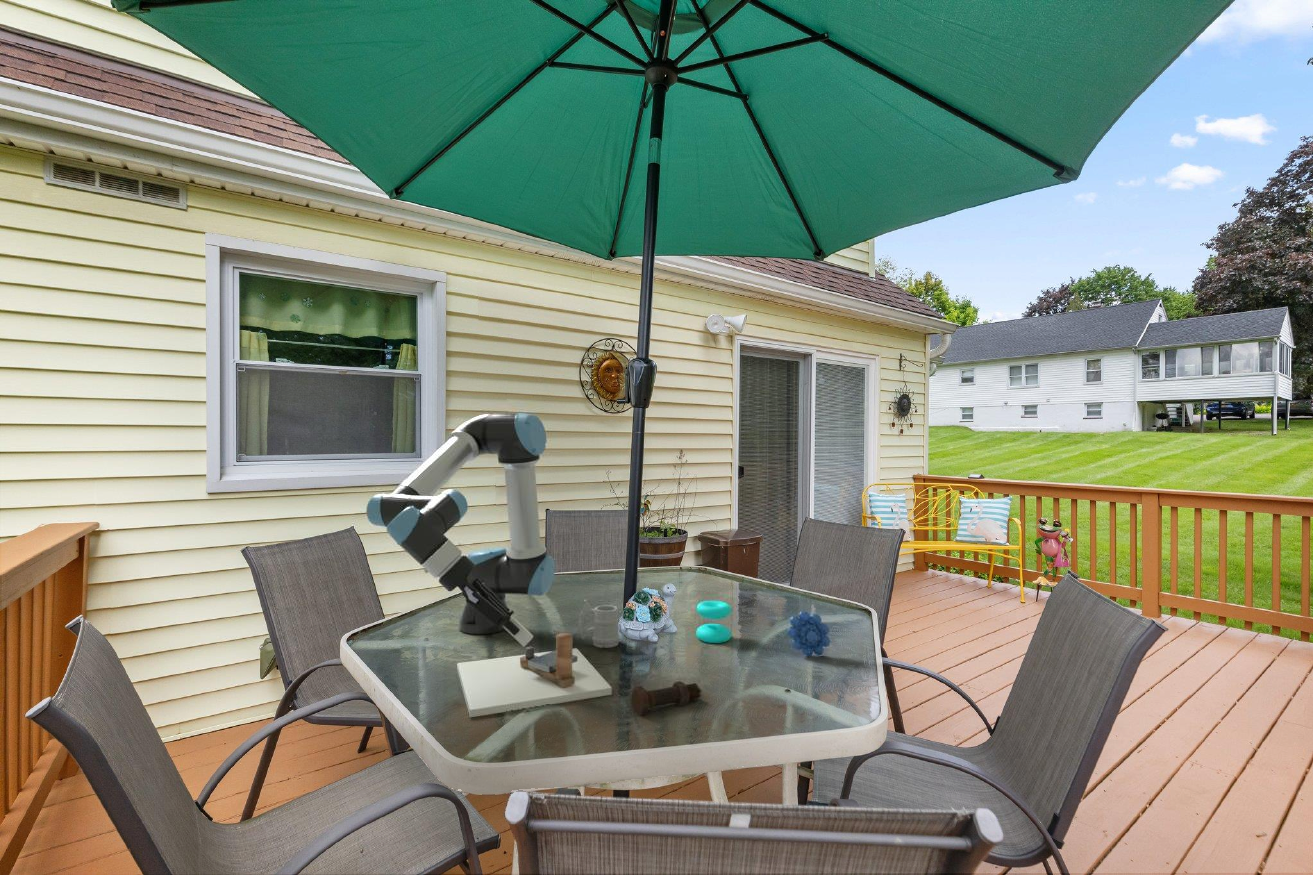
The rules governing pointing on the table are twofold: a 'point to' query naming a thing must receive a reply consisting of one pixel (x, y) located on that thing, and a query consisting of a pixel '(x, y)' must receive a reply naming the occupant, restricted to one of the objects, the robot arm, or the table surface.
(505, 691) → the base plate
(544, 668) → the block
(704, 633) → the donuts
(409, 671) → the table surface
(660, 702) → the bolt
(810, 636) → the blue knobby flower
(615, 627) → the mug
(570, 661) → the link
